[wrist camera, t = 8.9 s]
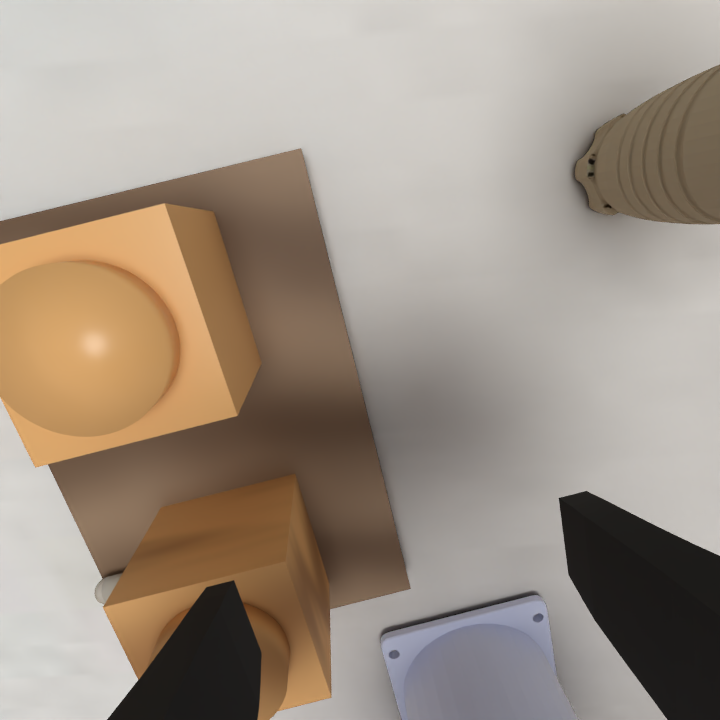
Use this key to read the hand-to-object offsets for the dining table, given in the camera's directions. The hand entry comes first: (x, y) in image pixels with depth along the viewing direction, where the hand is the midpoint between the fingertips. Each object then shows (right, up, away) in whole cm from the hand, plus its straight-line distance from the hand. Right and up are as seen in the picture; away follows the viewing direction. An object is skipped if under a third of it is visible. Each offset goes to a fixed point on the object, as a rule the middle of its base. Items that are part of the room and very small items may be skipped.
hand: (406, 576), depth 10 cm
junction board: (-7, +2, +9) cm, 11 cm away
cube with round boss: (-8, +6, +6) cm, 12 cm away
